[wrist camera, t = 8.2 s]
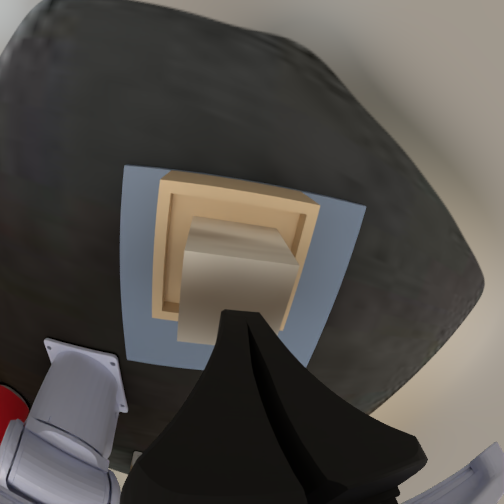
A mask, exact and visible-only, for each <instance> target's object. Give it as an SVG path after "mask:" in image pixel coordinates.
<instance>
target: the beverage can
mask: <svg viewBox="0 0 504 504" xmlns="http://www.w3.org/2000/svg"><path fill="white" fill-rule="evenodd" d="M28 413H29V408H28V406H27V404H26V402H25V400H24V399H23V398H22V397H21V396H20V395H19V394H18V393H17V392H16V391H14V390H13V389H12V388H10V387H8V386H5V385H0V445H1V442H2V440H3V437H4V434H5V432H6V429H7V427H8V425H9V422H10V421H11V420H16V419H20V420H21V421H22V422H23V424H24V422H25V420H26V418H27V415H28Z"/></svg>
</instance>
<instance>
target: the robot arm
mask: <svg viewBox="0 0 504 504" xmlns="http://www.w3.org/2000/svg"><path fill="white" fill-rule="evenodd" d="M44 344H45V347H46V350H47V352H48V355H49V358H50V361H51V363H52V365H51V367H50V369H49V371H48V373H47V375H46V377H45V379H44V381H43V383H42V385H41V387H40V390H39V392H38V394H37V396H36V399H35V401H34V403H33V406H32V408H31V410H30V413H29V415H28V418H27V419H26V421H25V422H24V424H23V422H22V421H21V420H20V419H16V420H11V421H10V422H9V425H8V427H7V429H6V432H5V434H4V437H3V440H2V442H1V445H0V504H398V503H397V500H396V498H395V497H397V496H399V495H400V491H399V489H398V485H400V484H401V483H403V482H404V481H406V480H407V479H408V478H410V477H411V476H413V475H414V474H416V473H417V472H418V471H419V470H421V469H422V468H423V467H424V466H425V465H426V463H427V460H428V459H427V457H426V455H425V453H424V451H423V449H422V448H421V445H420V444H419V442H418V440H417V438H416V437H415V436H413V435H410V434H408V433H405V432H403V431H400V430H398V429H395V428H393V427H390V426H388V425H386V424H384V423H382V422H380V421H378V420H376V419H374V418H372V417H370V416H369V415H367V414H365V413H363V412H362V411H360V410H358V409H357V408H355V407H354V406H352V405H351V404H349V403H348V402H346V401H345V400H343V399H342V398H340V397H339V396H338V395H336V394H335V393H334V392H332V391H331V390H330V389H329V388H327V387H326V386H325V385H324V384H323V383H322V382H320V381H319V380H318V379H317V378H316V377H315V376H314V375H312V374H311V373H310V372H309V371H308V370H307V369H306V368H305V367H304V366H303V365H302V364H301V363H300V362H299V361H298V360H297V358H296V357H295V356H294V355H293V354H292V353H291V352H290V351H289V349H288V348H287V347H286V346H285V345H284V343H283V342H282V341H281V340H280V339H279V337H278V336H277V335H276V333H275V332H274V331H273V330H272V328H271V327H270V326H269V324H268V323H267V322H266V320H265V319H264V318H263V316H262V315H261V314H260V312H250V311H239V310H229V309H224V310H223V311H221V315H220V321H219V327H218V333H217V339H216V343H215V346H214V349H213V351H212V353H211V356H210V358H209V360H208V363H207V365H206V367H205V369H204V371H203V373H202V375H201V377H200V378H199V380H198V382H197V384H196V385H195V387H194V389H193V390H192V392H191V394H190V395H189V397H188V398H187V400H186V401H185V403H184V404H183V406H182V407H181V409H180V410H179V411H178V413H177V414H176V415H175V417H174V418H173V419H172V420H171V422H170V423H169V424H168V425H167V427H166V428H165V429H164V430H163V432H162V433H161V434H160V435H159V436H158V437H157V439H156V440H155V441H154V442H153V443H152V444H151V445H150V446H149V447H148V448H147V449H146V450H145V451H144V452H143V453H142V454H141V455H140V456H139V457H138V458H137V460H136V462H135V463H134V465H133V467H132V469H131V471H130V473H129V474H128V477H127V479H126V481H125V483H124V485H123V488H122V492H121V491H120V486H119V483H118V481H117V478H116V476H115V474H114V473H113V472H112V471H111V470H109V469H108V467H109V460H107V458H108V457H109V456H110V454H111V451H112V445H113V440H114V435H115V429H116V425H117V420H118V415H119V412H124V413H127V412H128V406H127V401H126V397H125V392H124V388H123V383H122V378H121V372H120V367H119V361H118V357H117V356H116V355H114V354H110V353H105V352H101V351H96V350H92V349H87V348H83V347H79V346H75V345H71V344H68V343H64V342H60V341H57V340H53V339H50V338H46V339H45V340H44ZM503 494H504V453H503V451H502V449H501V448H500V446H499V445H498V443H497V442H494V443H493V444H492V445H491V446H489V447H488V448H487V449H486V450H484V451H483V452H482V453H481V454H479V455H478V456H477V457H476V458H475V459H473V460H472V461H471V462H470V463H469V464H468V465H466V466H465V467H464V468H462V469H461V470H460V471H458V472H456V473H455V474H453V475H452V476H450V477H449V478H447V479H445V480H444V481H442V482H440V483H439V484H437V485H436V486H434V487H432V488H430V489H429V490H427V491H425V492H423V493H421V494H419V495H417V496H415V497H414V498H411V499H410V500H407V501H405V502H403V503H401V504H497V502H498V501H499V499H500V498H501V497H502V495H503Z"/></svg>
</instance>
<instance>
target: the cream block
mask: <svg viewBox="0 0 504 504" xmlns="http://www.w3.org/2000/svg"><path fill="white" fill-rule="evenodd" d="M299 266H300V265H299V264H298V262H297V261H296V259H295V257H294V256H293V254H292V252H291V251H290V249H289V248H288V246H287V244H286V243H285V241H284V240H283V238H282V236H281V235H280V233H279V232H278V230H277V228H271V227H265V226H258V225H252V224H245V223H239V222H232V221H226V220H219V219H212V218H205V217H198V216H193V218H192V222H191V226H190V230H189V234H188V238H187V242H186V246H185V250H184V259H183V269H182V279H181V290H180V302H179V316H178V331H177V341H180V342H189V343H197V344H207V345H215V343H216V339H217V333H218V327H219V321H220V315H221V311H223V310H224V309H229V310H239V311H250V312H260V314H261V315H262V316H263V318H264V319H265V320H266V322H267V323H268V324H269V326H270V327H271V328H272V330H273V331H274V332H275V333H276V335H277V336H278V333H279V330H280V327H281V324H282V321H283V317H284V314H285V311H286V308H287V305H288V302H289V299H290V296H291V292H292V289H293V286H294V283H295V279H296V276H297V273H298V269H299Z"/></svg>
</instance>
